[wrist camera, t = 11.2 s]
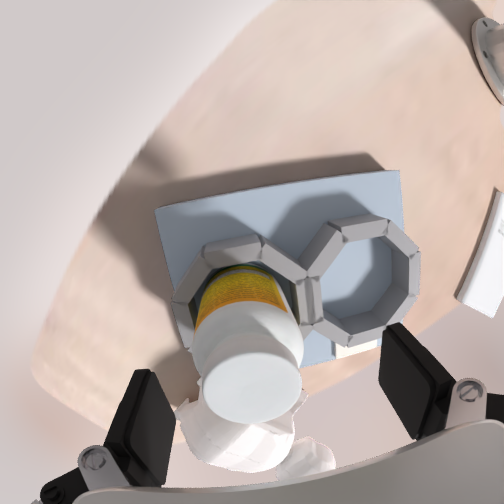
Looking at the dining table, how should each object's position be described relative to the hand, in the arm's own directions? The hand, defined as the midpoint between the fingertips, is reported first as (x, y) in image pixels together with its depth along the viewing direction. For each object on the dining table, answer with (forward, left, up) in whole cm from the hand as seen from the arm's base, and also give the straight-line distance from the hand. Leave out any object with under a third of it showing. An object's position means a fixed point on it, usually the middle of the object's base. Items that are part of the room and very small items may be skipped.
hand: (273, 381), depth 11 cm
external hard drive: (-27, +4, -12) cm, 30 cm away
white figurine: (+2, +13, -12) cm, 18 cm away
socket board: (-3, 0, -11) cm, 12 cm away
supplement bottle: (+1, 0, -10) cm, 10 cm away
